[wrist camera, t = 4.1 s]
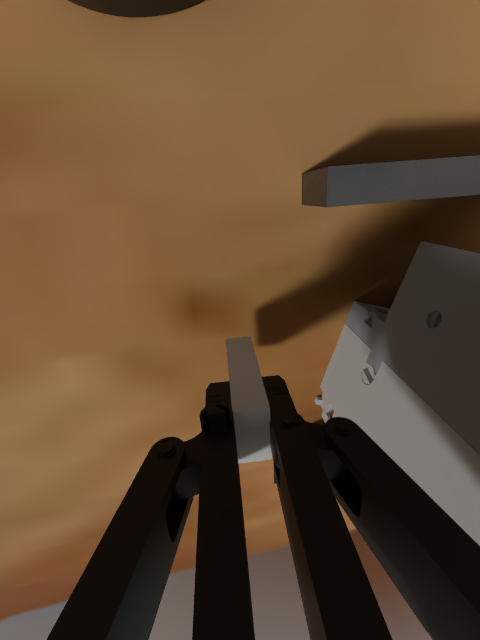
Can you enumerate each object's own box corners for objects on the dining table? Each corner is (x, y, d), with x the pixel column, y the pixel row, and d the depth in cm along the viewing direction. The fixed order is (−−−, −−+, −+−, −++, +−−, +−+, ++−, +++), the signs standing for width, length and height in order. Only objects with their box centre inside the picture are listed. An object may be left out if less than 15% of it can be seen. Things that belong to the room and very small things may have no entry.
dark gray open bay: (302, 173, 16) (328, 166, 12) (528, 156, 17) (617, 144, 13) (299, 444, 24) (315, 489, 20) (455, 425, 24) (497, 466, 21)
